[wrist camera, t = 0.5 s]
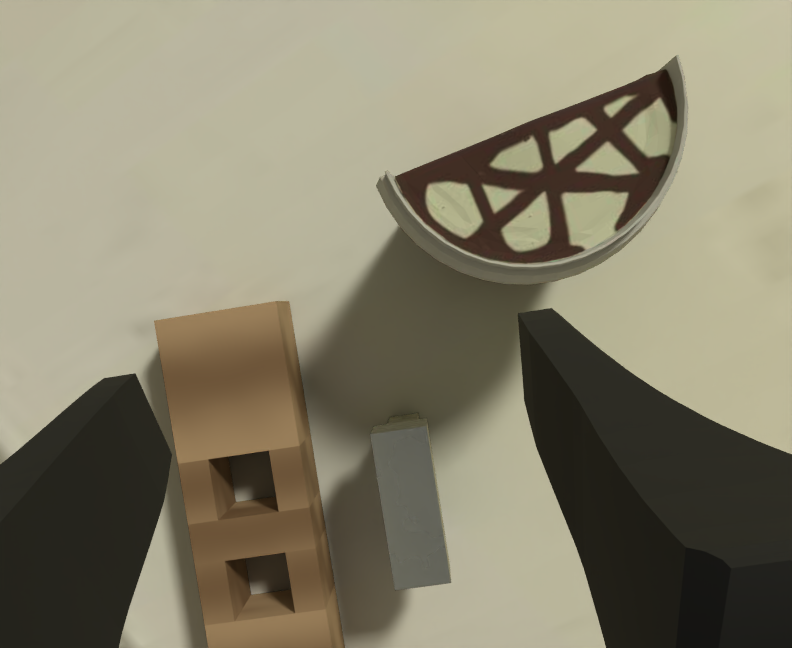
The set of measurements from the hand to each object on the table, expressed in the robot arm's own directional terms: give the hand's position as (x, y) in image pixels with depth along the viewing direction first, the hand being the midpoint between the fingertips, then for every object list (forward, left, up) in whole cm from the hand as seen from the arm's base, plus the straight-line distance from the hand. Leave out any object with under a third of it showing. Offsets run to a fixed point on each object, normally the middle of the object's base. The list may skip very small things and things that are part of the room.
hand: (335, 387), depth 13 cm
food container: (+4, -7, -23) cm, 24 cm away
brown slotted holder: (-9, +8, -22) cm, 25 cm away
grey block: (-8, 0, -22) cm, 24 cm away
